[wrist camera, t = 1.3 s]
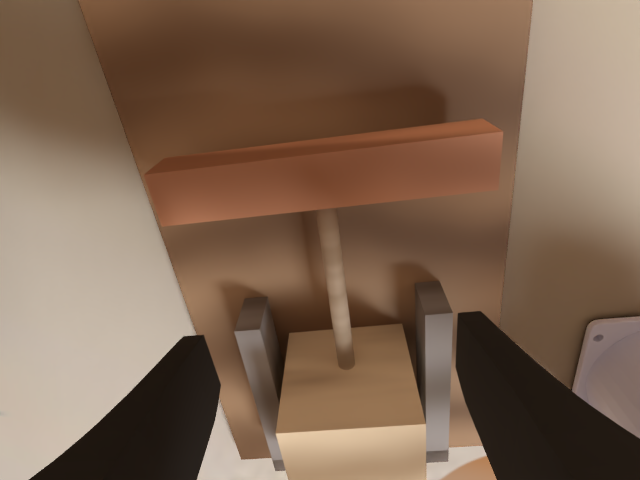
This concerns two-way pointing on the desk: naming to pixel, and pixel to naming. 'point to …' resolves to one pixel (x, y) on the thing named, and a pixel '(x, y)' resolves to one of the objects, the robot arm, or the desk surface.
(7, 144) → the desk surface
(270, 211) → the block
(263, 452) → the lane board
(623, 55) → the desk surface
